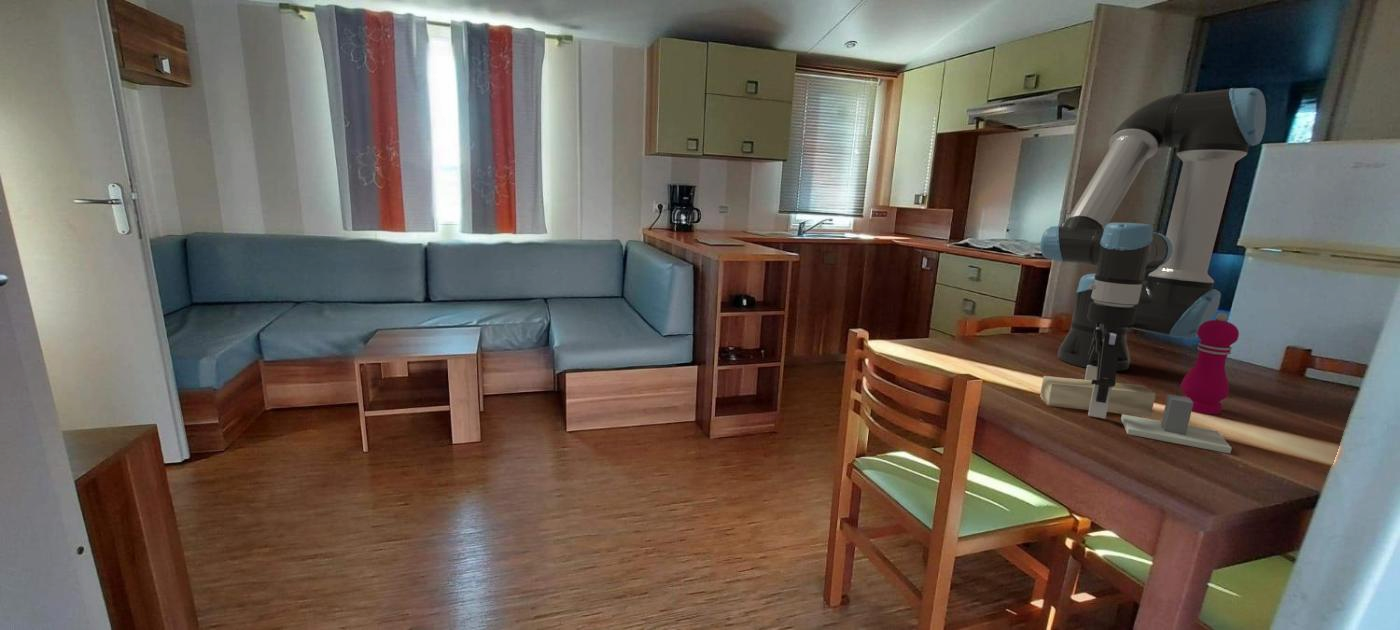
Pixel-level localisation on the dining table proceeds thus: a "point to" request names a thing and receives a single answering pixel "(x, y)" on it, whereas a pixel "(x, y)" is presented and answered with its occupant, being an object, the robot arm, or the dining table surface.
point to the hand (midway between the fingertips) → (1092, 405)
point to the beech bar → (1080, 394)
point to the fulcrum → (1176, 427)
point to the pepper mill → (1210, 366)
